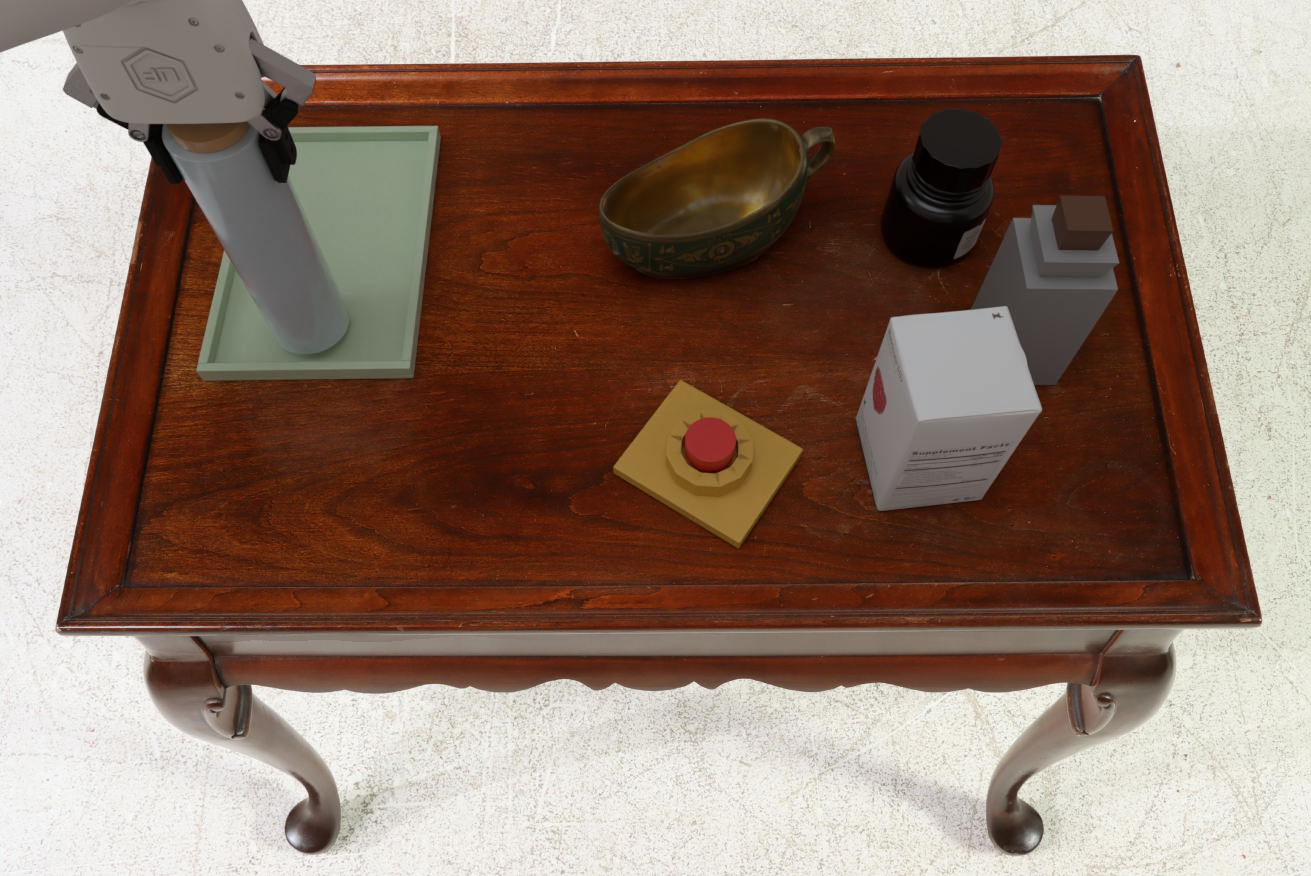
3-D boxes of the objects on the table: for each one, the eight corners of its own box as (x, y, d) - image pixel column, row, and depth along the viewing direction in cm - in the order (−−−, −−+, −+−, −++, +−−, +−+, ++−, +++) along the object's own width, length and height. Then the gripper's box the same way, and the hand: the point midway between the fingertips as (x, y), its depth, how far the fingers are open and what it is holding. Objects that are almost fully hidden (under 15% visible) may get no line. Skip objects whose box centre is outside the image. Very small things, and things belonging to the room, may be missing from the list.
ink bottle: (980, 275, 94) (1022, 183, 83) (883, 272, 94) (913, 180, 83) (968, 193, 98) (1007, 97, 88) (876, 190, 98) (903, 94, 88)
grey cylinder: (313, 367, 87) (205, 165, 66) (256, 331, 89) (133, 123, 68) (365, 314, 90) (277, 104, 69) (309, 280, 91) (206, 65, 70)
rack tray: (413, 378, 88) (409, 368, 87) (203, 380, 88) (195, 370, 87) (441, 137, 102) (438, 125, 100) (258, 139, 101) (252, 127, 100)
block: (738, 549, 81) (741, 534, 78) (613, 473, 84) (611, 456, 81) (802, 455, 85) (806, 438, 82) (679, 386, 88) (680, 367, 85)
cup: (821, 304, 92) (839, 230, 83) (599, 290, 93) (593, 215, 84) (821, 194, 98) (838, 114, 89) (613, 181, 99) (609, 101, 90)
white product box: (852, 416, 87) (887, 311, 73) (956, 406, 87) (1010, 300, 74) (874, 514, 82) (916, 422, 69) (984, 503, 83) (1046, 409, 70)
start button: (717, 480, 81) (718, 470, 79) (674, 455, 82) (675, 445, 80) (744, 443, 82) (745, 433, 81) (701, 419, 83) (702, 408, 82)
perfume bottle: (1055, 385, 88) (1143, 250, 72) (976, 384, 88) (1047, 249, 72) (1042, 320, 91) (1124, 178, 76) (966, 319, 91) (1032, 177, 76)
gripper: (-62, -14, 55) (96, 211, 71) (263, -17, 55) (349, 208, 71) (-20, -102, 59) (122, 131, 74) (285, -104, 59) (362, 128, 75)
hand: (232, 167), depth 73 cm, fingers closed on grey cylinder, 6 cm apart
